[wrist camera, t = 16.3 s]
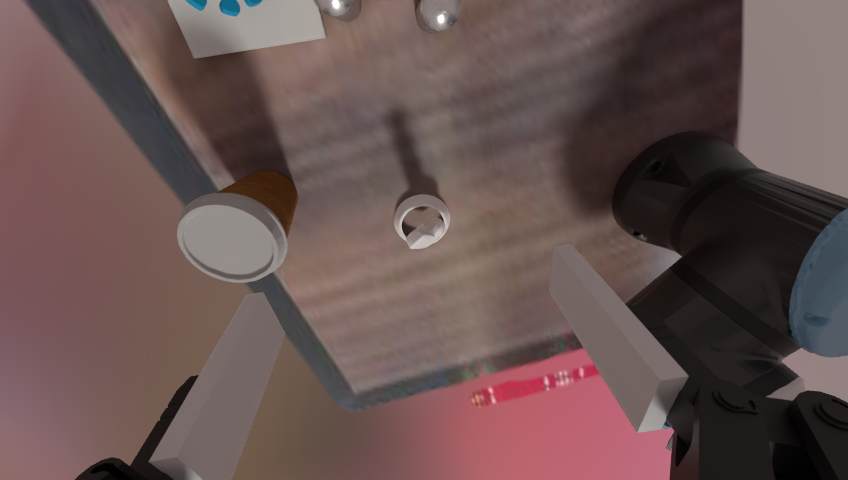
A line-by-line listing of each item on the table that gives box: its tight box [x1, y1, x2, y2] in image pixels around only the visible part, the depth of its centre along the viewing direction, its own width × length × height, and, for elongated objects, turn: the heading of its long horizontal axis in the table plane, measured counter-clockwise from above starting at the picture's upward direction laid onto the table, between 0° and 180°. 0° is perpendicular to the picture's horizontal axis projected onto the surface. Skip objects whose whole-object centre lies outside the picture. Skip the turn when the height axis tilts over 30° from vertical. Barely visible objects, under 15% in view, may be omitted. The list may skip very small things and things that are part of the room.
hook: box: [394, 194, 450, 249], centre depth 39 cm, size 8×12×7 cm
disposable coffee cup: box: [177, 170, 298, 283], centre depth 34 cm, size 10×10×12 cm
